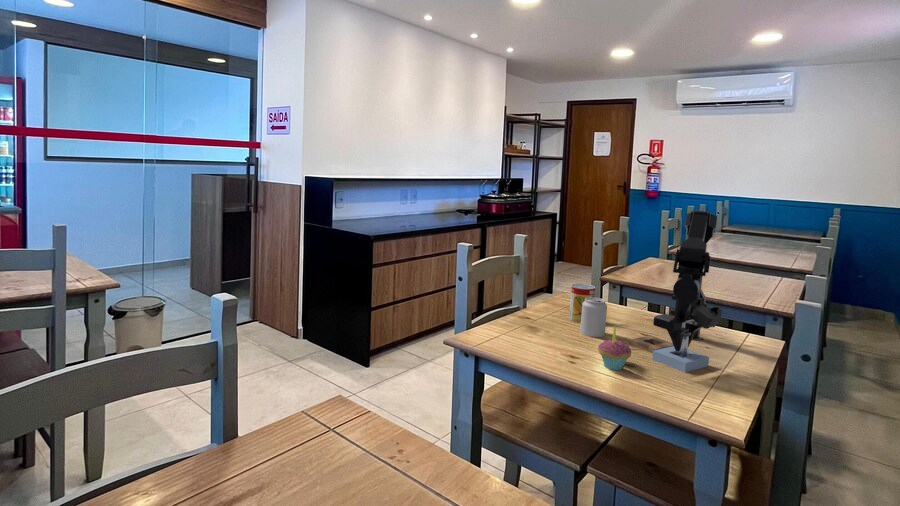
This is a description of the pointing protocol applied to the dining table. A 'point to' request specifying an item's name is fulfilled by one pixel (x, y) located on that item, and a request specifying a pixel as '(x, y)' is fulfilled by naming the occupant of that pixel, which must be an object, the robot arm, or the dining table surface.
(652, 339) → the mount
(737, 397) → the dining table surface
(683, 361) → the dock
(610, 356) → the cupcake
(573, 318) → the canned food
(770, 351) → the dining table surface
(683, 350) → the lock pin
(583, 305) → the can
